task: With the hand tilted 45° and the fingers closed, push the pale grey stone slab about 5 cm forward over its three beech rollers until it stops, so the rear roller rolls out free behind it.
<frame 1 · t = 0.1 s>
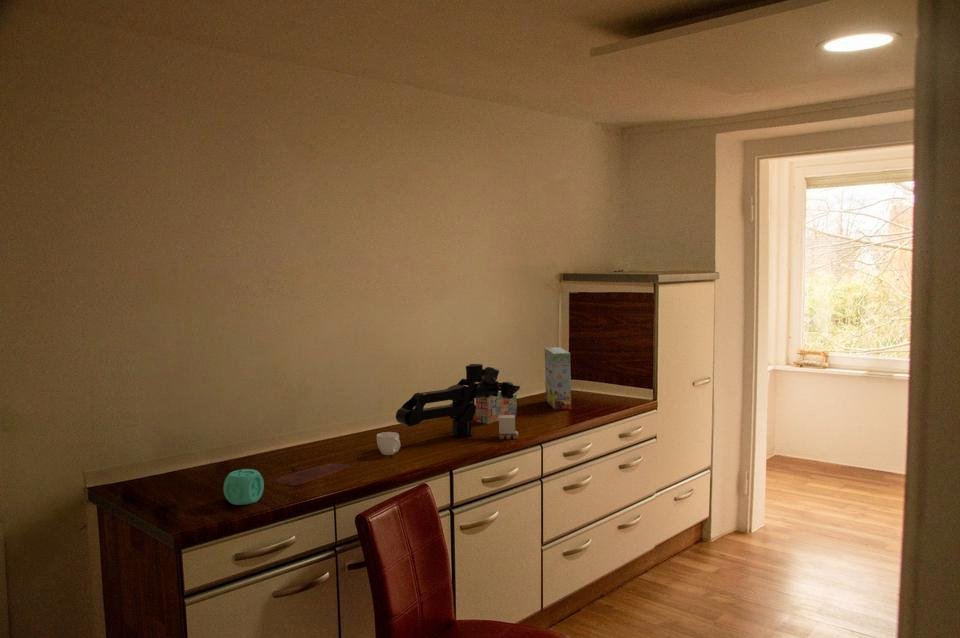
hand: (512, 385, 299), 17 cm above the worktop, tool horizontal, fingers open, 9 cm apart
slab: (507, 424, 282), point 5 cm above the worktop, slide at 0.0 cm
snack box: (557, 405, 344), on the worktop
cup: (390, 454, 259), on the worktop
roller front: (515, 437, 282), on the worktop, tilted 9°
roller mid: (508, 437, 282), on the worktop
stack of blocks: (496, 419, 316), on the worktop
decorative dice: (244, 501, 210), on the worktop
wooden tablet: (315, 476, 236), on the worktop
roller rear: (501, 437, 282), on the worktop
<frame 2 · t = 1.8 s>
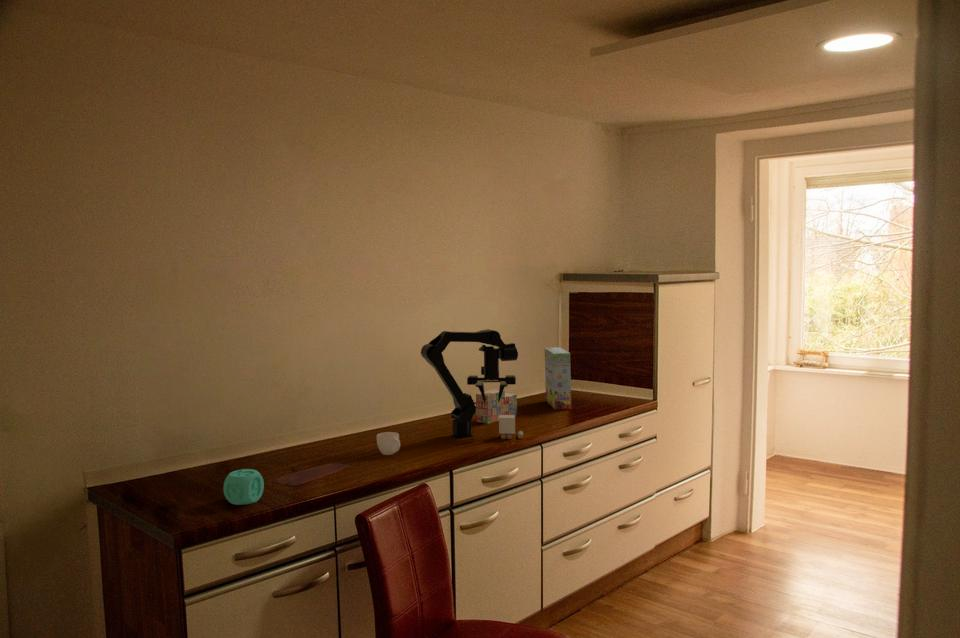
hand: (491, 402, 289), 12 cm above the worktop, tool pointing down, fingers open, 5 cm apart
roller front: (518, 433, 282), point 1 cm above the worktop, tilted 125°
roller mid: (508, 437, 282), on the worktop, tilted 31°
roller rear: (501, 436, 282), on the worktop, tilted 52°
everything else where it was.
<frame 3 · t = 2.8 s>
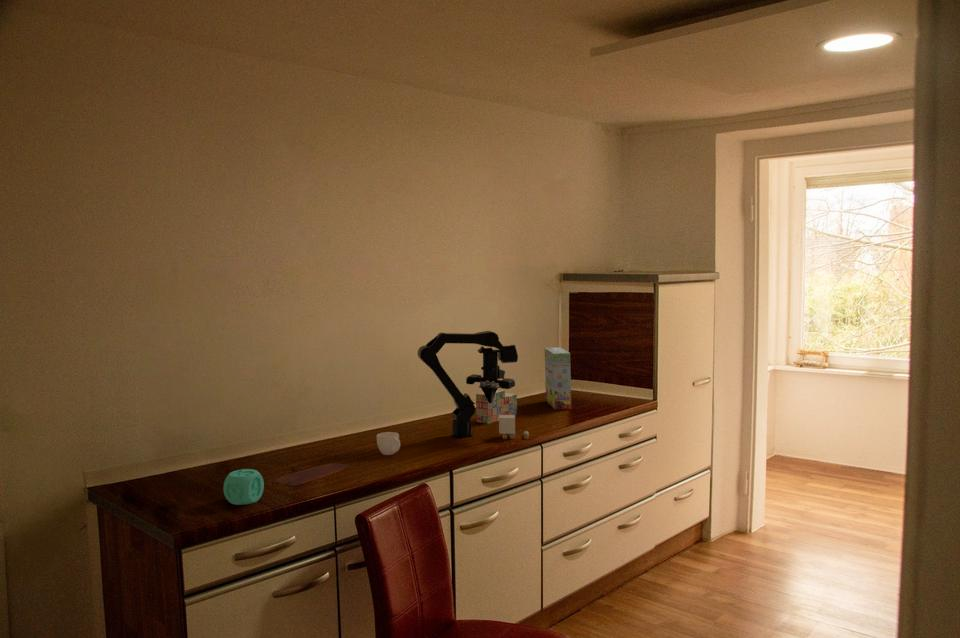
hand: (490, 403, 288), 12 cm above the worktop, tool pointing down, fingers closed
roller front: (528, 435, 282), point 1 cm above the worktop, tilted 94°
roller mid: (509, 435, 282), point 1 cm above the worktop, tilted 92°
roller rear: (502, 435, 282), point 1 cm above the worktop, tilted 83°
everything else where it was.
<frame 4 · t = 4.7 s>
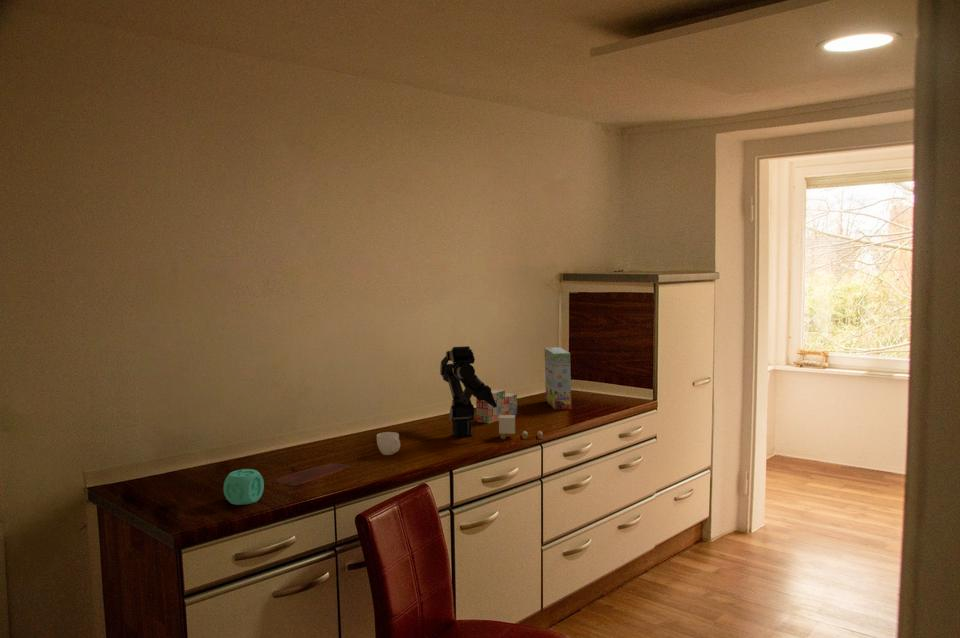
hand: (495, 406, 282), 12 cm above the worktop, tool tilted 45°, fingers closed
roller front: (542, 434, 281), point 1 cm above the worktop, tilted 111°
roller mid: (523, 437, 282), on the worktop, tilted 42°
roller rear: (501, 437, 282), on the worktop, tilted 40°
everything else where it was.
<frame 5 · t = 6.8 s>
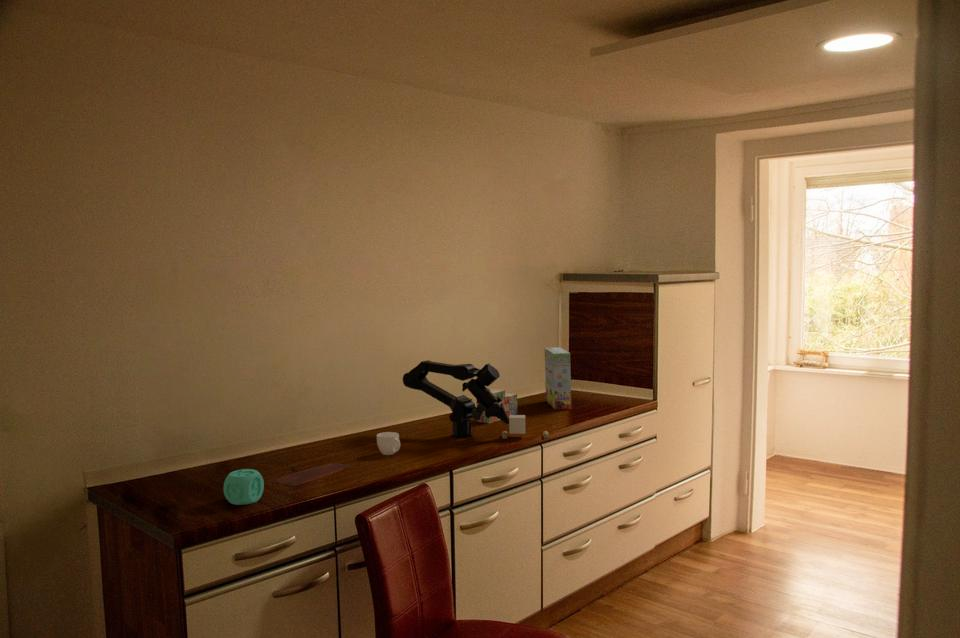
hand: (508, 423, 280), 6 cm above the worktop, tool tilted 40°, fingers closed
slab: (517, 424, 282), point 5 cm above the worktop, slide at 3.9 cm, touching gripper
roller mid: (546, 432, 281), point 2 cm above the worktop, tilted 164°
roller rear: (502, 435, 282), point 1 cm above the worktop, tilted 76°
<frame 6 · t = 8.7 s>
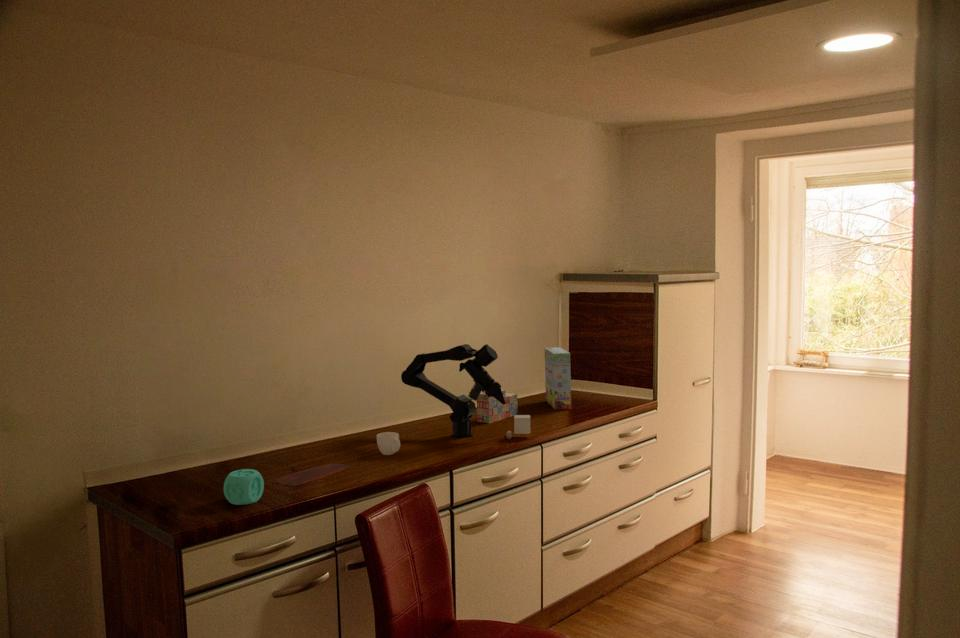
hand: (504, 403, 283), 13 cm above the worktop, tool tilted 40°, fingers closed
slab: (522, 424, 281), point 5 cm above the worktop, slide at 5.7 cm
roller rear: (508, 432, 282), point 2 cm above the worktop, tilted 180°
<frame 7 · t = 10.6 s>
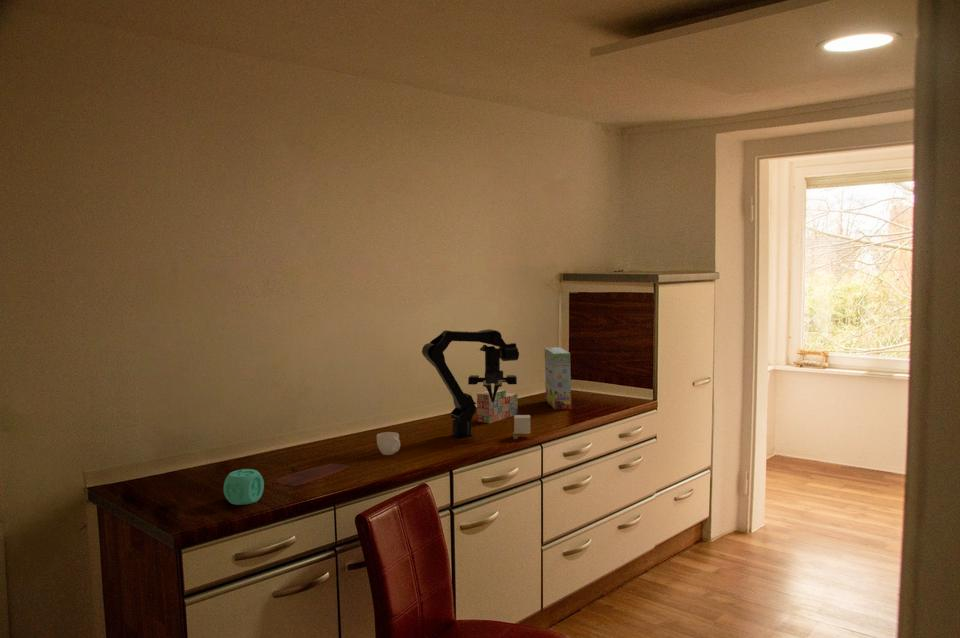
hand: (492, 401, 290), 12 cm above the worktop, tool pointing down, fingers closed
roller rear: (516, 437, 282), on the worktop, tilted 19°
at the end: slab slide at 5.7 cm; roller rear touching worktop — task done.
